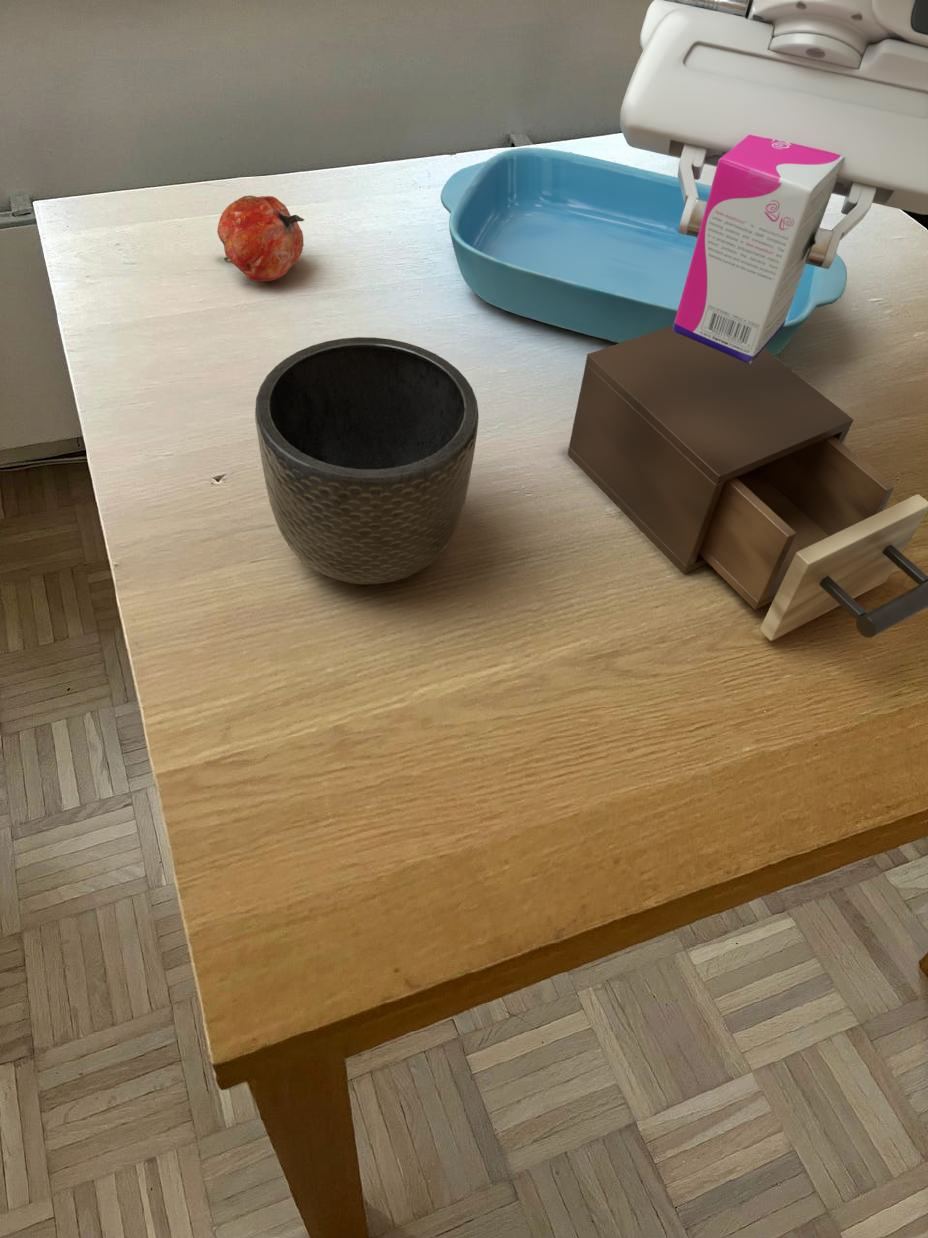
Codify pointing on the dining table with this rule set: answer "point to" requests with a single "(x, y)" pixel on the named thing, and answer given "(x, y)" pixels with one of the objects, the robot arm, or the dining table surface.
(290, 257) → the pomegranate
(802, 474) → the drawer
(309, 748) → the dining table surface
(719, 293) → the supplement box
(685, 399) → the cabinet
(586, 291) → the casserole dish
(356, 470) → the planter
